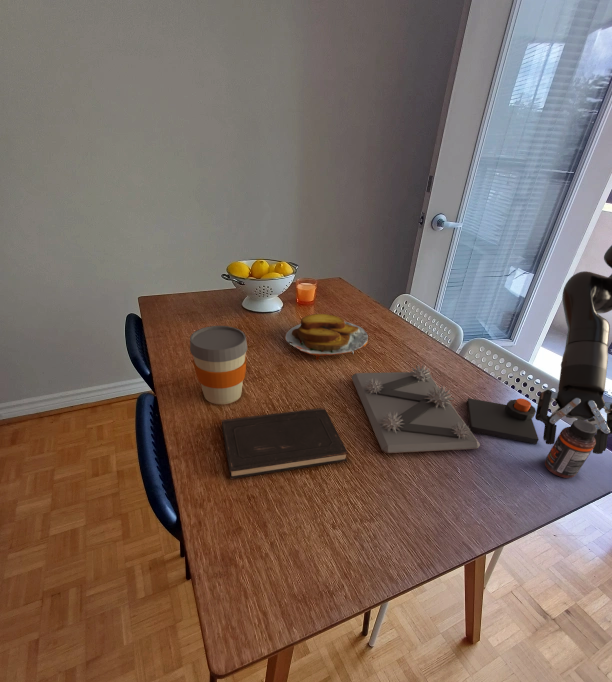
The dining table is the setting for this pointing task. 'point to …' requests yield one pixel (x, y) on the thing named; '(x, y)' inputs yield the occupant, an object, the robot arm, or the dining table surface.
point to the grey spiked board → (412, 412)
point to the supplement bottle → (571, 449)
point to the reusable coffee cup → (219, 362)
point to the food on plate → (326, 335)
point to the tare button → (522, 405)
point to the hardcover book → (281, 442)
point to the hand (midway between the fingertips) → (573, 448)
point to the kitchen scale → (501, 420)
